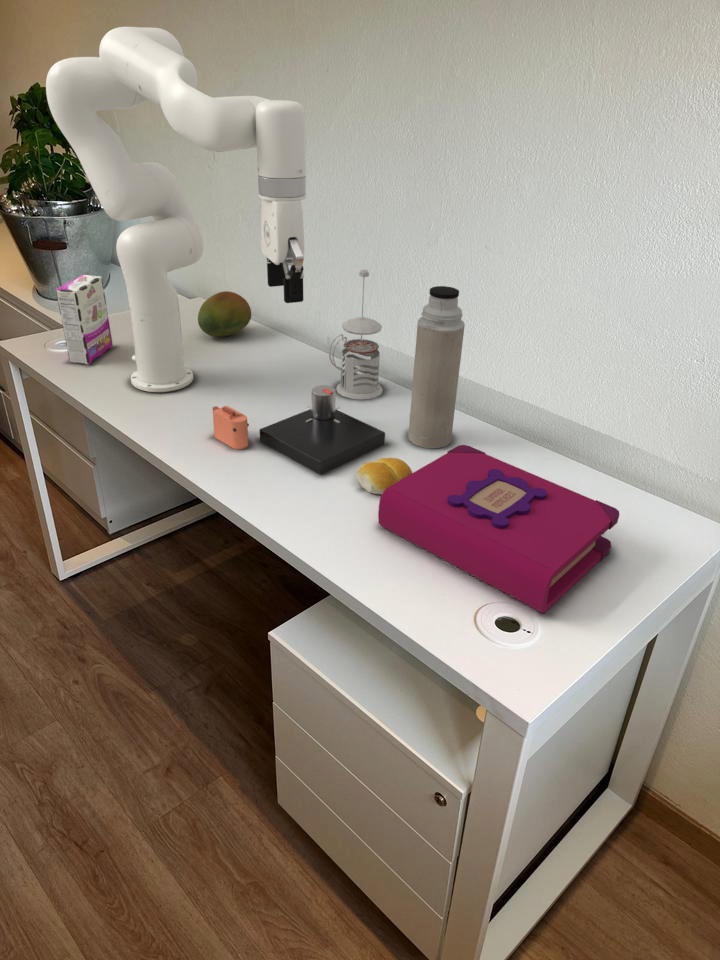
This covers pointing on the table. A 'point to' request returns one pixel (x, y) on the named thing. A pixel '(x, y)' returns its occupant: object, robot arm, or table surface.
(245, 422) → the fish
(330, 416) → the knob
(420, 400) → the thermos bottle
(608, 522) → the book
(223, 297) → the fruit
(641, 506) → the table surface
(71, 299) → the candy bar box
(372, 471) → the bread roll
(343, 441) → the hot plate
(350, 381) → the french press
